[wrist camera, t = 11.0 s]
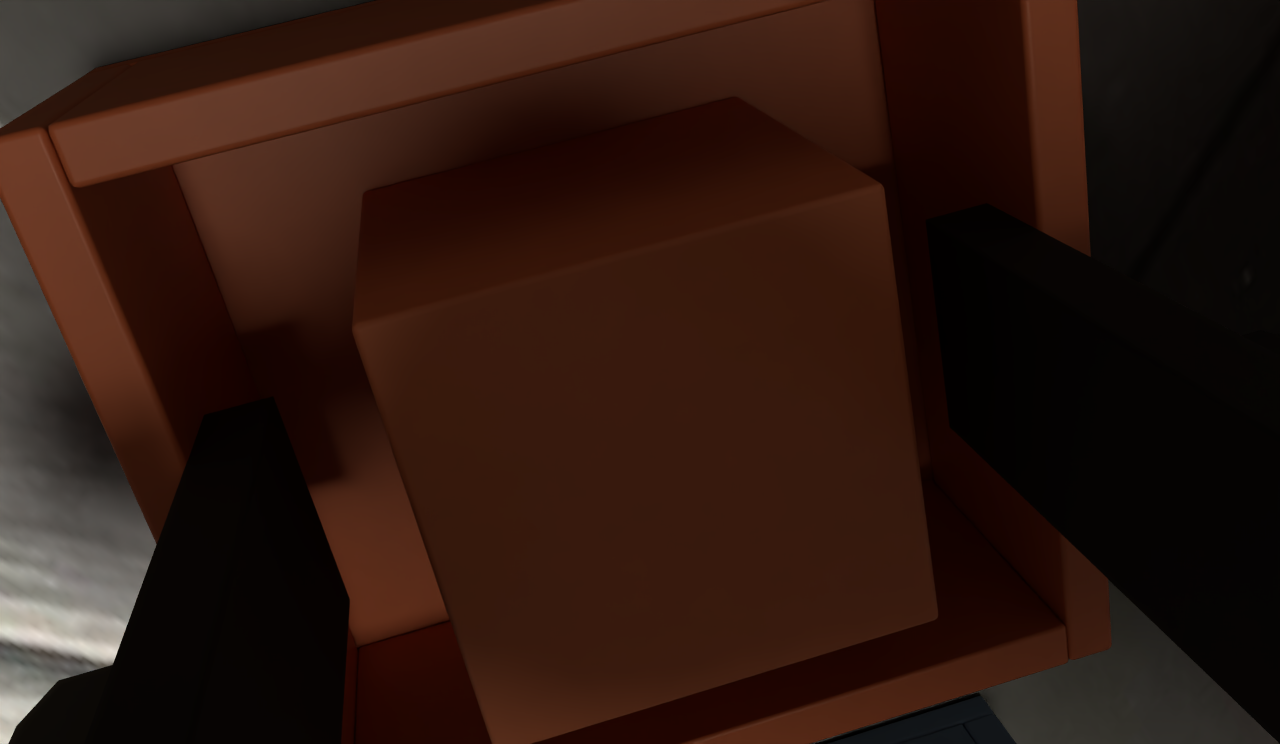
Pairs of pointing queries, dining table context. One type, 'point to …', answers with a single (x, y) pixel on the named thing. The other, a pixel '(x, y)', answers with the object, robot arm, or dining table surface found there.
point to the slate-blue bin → (941, 727)
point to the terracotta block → (647, 411)
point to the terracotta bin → (499, 126)
